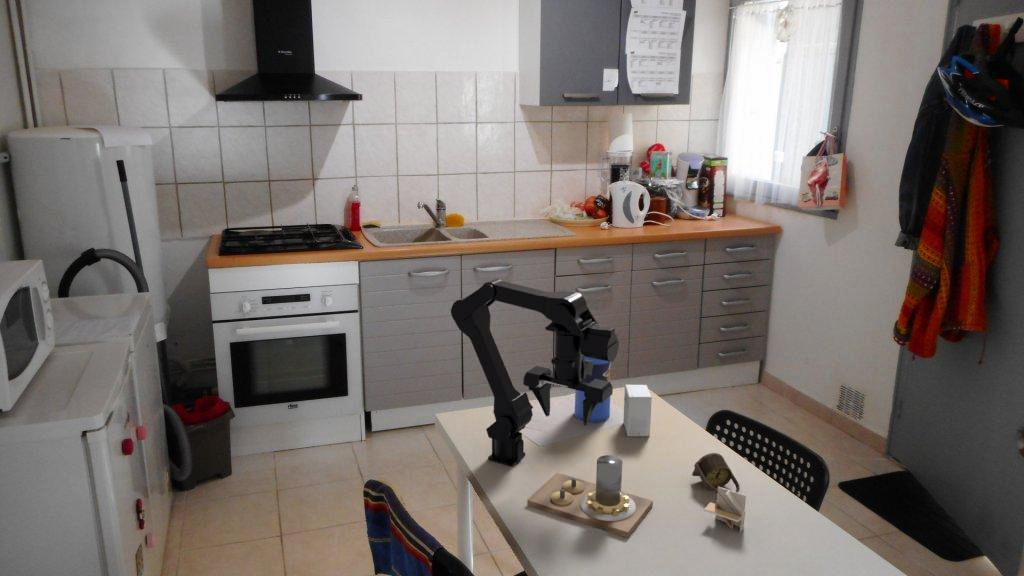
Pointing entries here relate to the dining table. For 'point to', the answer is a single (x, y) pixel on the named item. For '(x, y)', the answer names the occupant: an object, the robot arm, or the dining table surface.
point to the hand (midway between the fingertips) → (566, 420)
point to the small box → (637, 410)
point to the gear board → (571, 503)
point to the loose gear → (608, 488)
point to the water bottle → (598, 372)
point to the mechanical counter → (714, 472)
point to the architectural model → (729, 507)
